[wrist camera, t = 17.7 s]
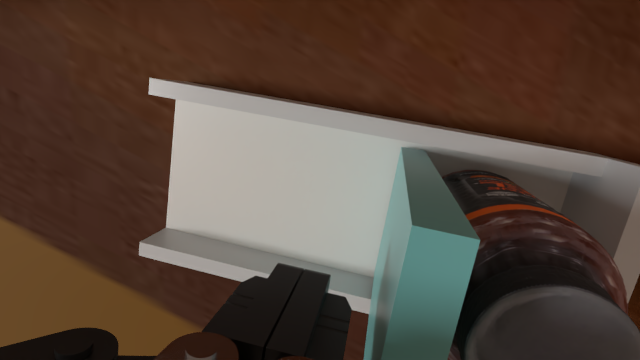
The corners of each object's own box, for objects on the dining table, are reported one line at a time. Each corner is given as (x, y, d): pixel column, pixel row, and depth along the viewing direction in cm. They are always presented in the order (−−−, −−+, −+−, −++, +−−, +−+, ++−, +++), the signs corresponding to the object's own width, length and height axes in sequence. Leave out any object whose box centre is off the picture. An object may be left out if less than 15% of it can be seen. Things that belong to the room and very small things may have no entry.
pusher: (374, 271, 21) (343, 519, 8) (401, 146, 19) (411, 225, 7) (396, 276, 21) (397, 538, 8) (425, 150, 19) (480, 239, 7)
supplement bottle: (552, 193, 19) (773, 319, 8) (496, 294, 20) (616, 517, 9) (437, 148, 19) (494, 206, 8) (390, 248, 21) (387, 409, 10)
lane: (174, 234, 24) (105, 275, 19) (186, 81, 22) (113, 74, 17) (536, 322, 21) (589, 404, 15) (592, 152, 19) (678, 173, 13)
